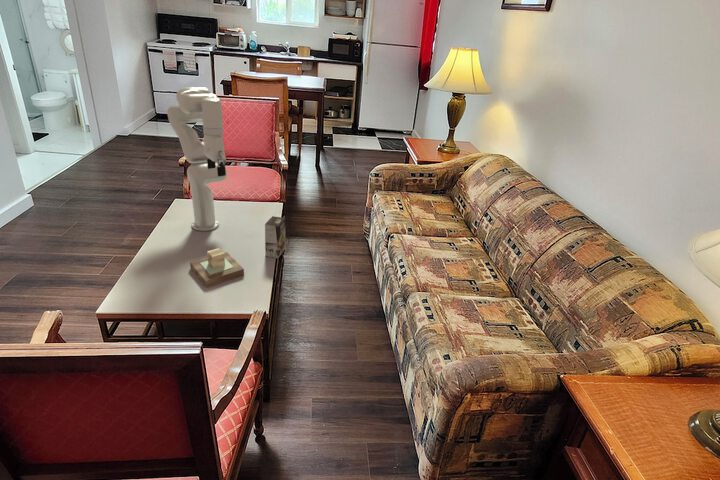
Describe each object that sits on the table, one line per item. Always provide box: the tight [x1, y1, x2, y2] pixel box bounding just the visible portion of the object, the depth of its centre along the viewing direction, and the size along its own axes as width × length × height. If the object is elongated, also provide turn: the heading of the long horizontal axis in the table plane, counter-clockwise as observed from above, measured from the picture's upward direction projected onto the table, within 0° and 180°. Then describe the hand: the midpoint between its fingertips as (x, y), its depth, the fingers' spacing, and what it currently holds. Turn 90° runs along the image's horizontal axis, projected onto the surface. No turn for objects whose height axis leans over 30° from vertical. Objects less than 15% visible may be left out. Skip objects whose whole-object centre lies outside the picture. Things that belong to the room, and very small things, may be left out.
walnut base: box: [189, 251, 245, 288], centre depth 176 cm, size 16×16×3 cm
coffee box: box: [264, 216, 286, 259], centre depth 191 cm, size 9×6×16 cm
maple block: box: [206, 247, 225, 269], centre depth 174 cm, size 5×5×6 cm
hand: (216, 171), depth 177 cm, fingers open, 9 cm apart
